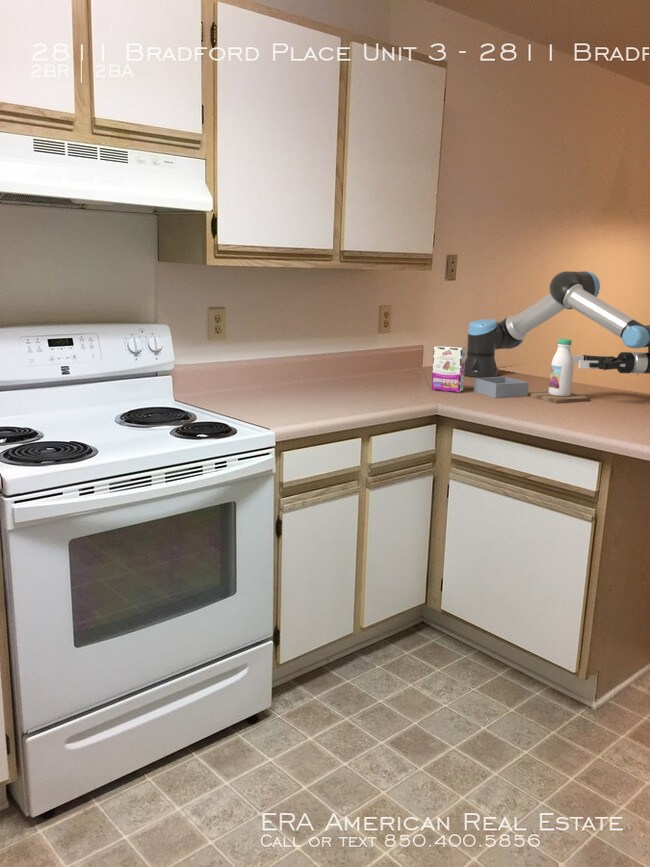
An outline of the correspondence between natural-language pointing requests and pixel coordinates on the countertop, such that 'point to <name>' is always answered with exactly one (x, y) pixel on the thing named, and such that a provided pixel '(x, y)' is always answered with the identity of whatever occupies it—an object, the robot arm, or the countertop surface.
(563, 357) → the milk bottle
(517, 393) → the box
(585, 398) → the walnut board
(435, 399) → the countertop surface
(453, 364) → the candy bar box
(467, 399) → the countertop surface
